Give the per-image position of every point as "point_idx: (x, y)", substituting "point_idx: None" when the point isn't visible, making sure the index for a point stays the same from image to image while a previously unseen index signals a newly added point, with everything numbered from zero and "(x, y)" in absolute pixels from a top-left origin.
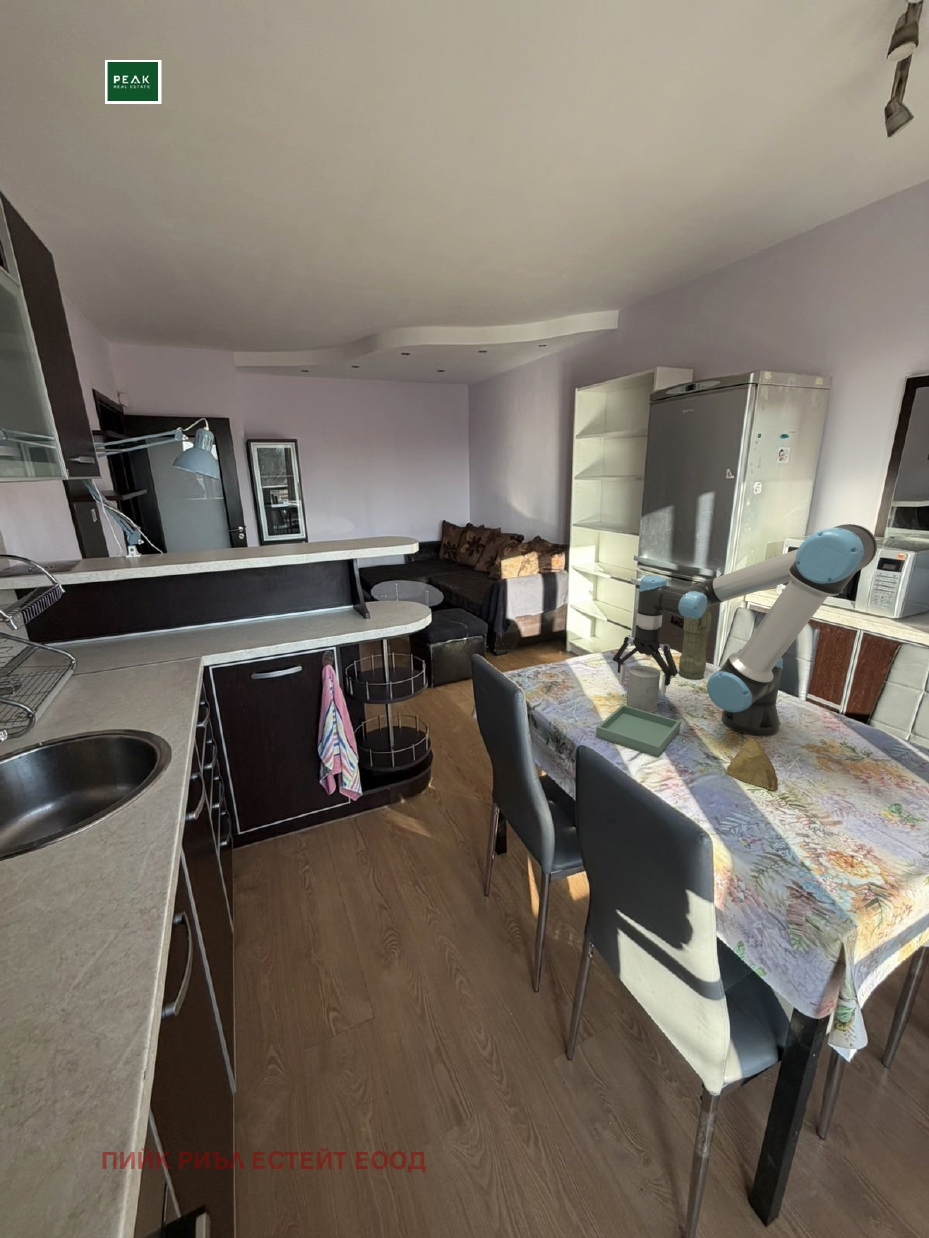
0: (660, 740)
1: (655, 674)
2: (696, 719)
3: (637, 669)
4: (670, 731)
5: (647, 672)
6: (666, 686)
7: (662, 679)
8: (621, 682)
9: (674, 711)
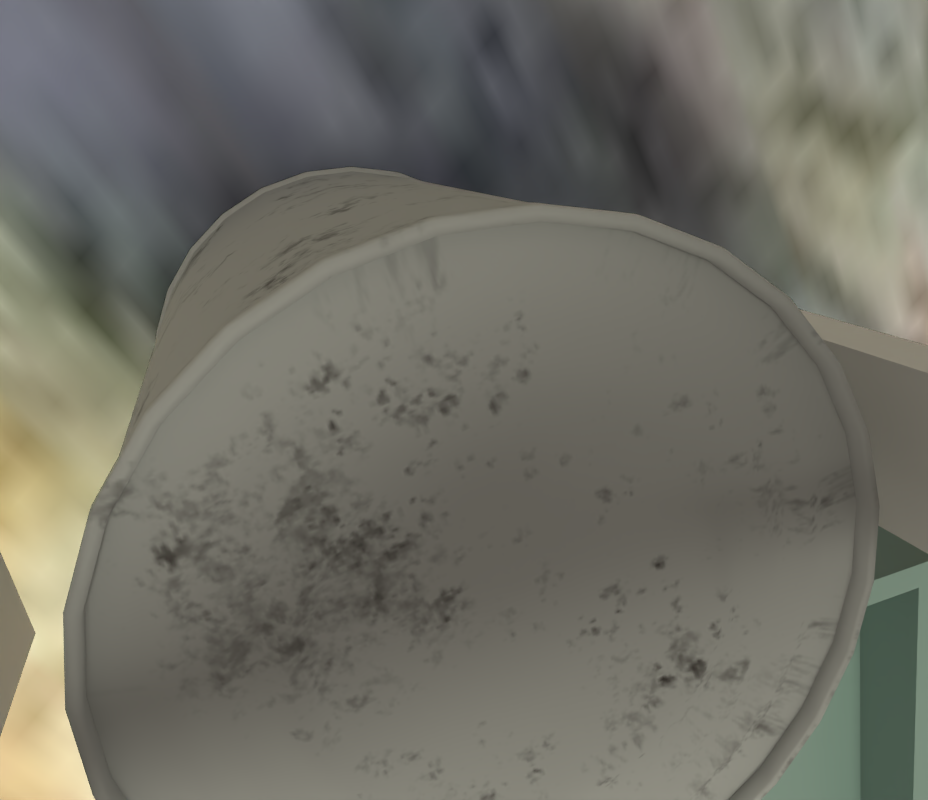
0: (828, 784)
1: (782, 543)
2: (911, 180)
3: (297, 673)
4: (924, 762)
5: (584, 589)
6: (810, 319)
7: (923, 546)
8: (28, 649)
9: (690, 184)
